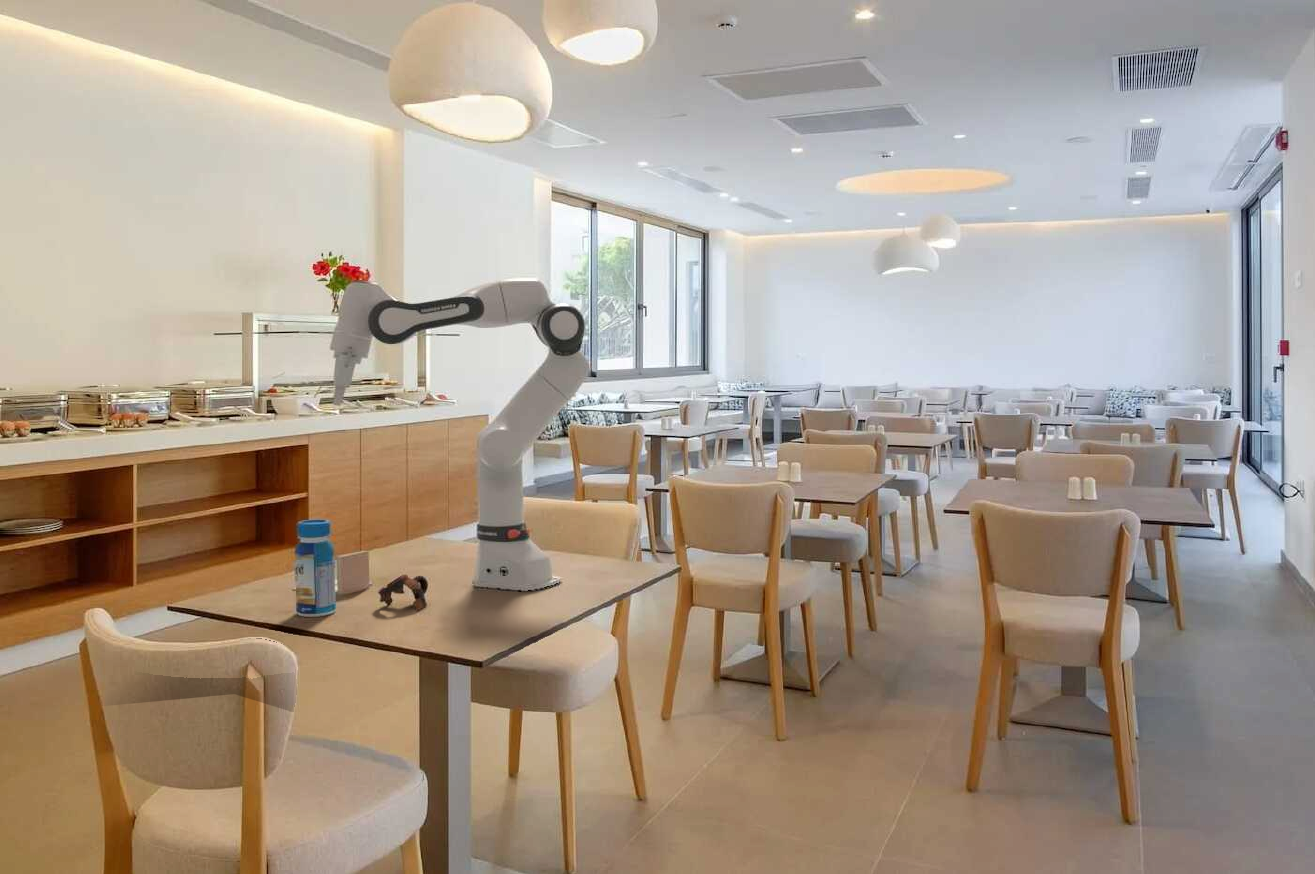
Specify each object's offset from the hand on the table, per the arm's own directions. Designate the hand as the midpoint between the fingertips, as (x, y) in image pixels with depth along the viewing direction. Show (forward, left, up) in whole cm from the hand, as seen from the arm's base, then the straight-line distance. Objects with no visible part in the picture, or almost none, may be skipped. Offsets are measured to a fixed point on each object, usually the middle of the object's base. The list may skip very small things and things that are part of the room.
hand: (336, 403), depth 235 cm
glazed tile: (-6, +1, -44) cm, 45 cm away
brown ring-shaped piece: (-27, +4, -45) cm, 53 cm away
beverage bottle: (-15, +19, -45) cm, 51 cm away
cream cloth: (+2, +1, -44) cm, 44 cm away
